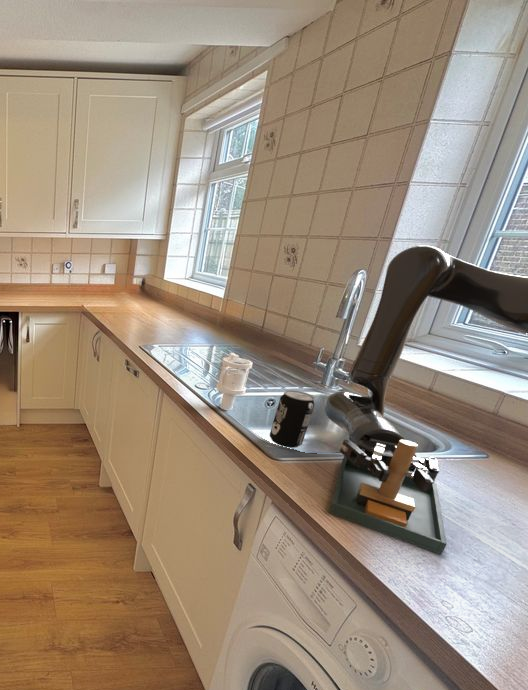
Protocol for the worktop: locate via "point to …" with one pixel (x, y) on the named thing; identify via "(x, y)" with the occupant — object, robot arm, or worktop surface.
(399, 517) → the orange wooden block
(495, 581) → the worktop surface
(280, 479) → the worktop surface
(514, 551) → the worktop surface
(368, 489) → the brush
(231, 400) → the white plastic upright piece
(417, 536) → the tray
